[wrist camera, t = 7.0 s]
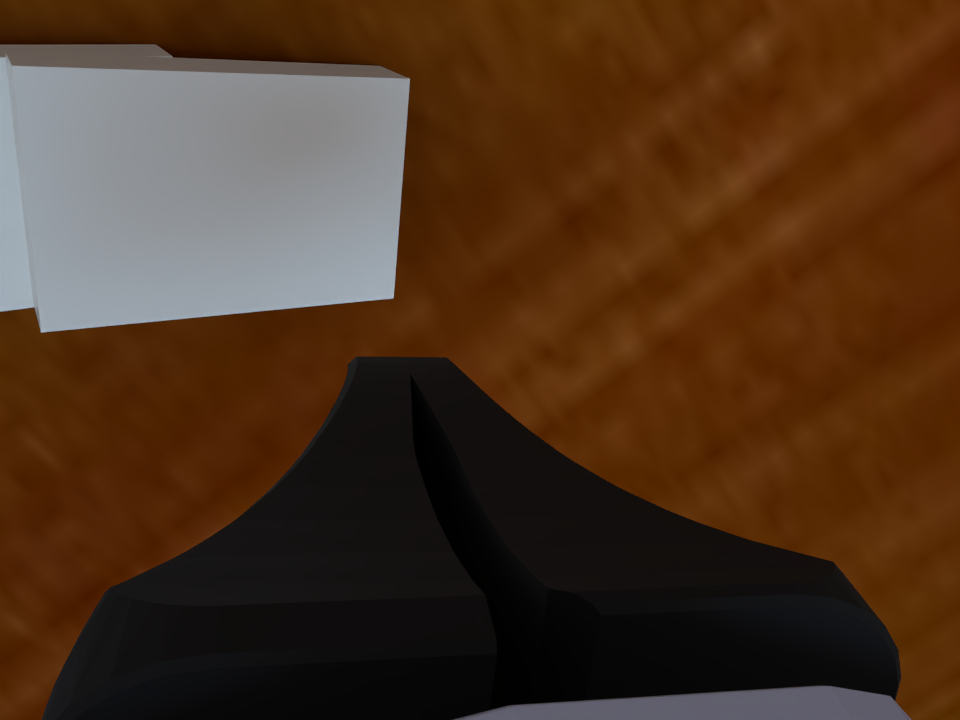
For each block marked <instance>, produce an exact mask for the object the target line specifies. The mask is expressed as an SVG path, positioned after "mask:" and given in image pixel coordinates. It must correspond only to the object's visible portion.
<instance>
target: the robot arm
mask: <svg viewBox="0 0 960 720" xmlns="http://www.w3.org/2000/svg"><path fill="white" fill-rule="evenodd" d="M900 680H901V672H900V662H899V652H898V649H897V647H896V645H895V643H894V641H893V640H892V638H891V636H890V634H889V632H888V630H887V629H886V627H885V625H884V624H883V623H882V622H881V620H880V619H879V618H878V617H877V615H876V614H875V613H874V612H873V610H872V609H871V608H870V607H869V605H868V604H867V603H866V602H865V600H864V599H863V598H862V597H861V595H860V594H859V593H858V592H857V590H856V589H855V588H854V587H853V585H852V584H851V583H850V582H849V580H848V579H847V578H846V577H845V575H844V574H843V573H842V572H841V570H840V569H839V568H838V567H837V566H836V565H835V564H834V562H832V561H828V560H824V559H820V558H816V557H812V556H809V555H805V554H801V553H797V552H793V551H789V550H785V549H782V548H778V547H774V546H770V545H766V544H762V543H758V542H755V541H751V540H748V539H745V538H741V537H738V536H736V535H733V534H730V533H727V532H724V531H721V530H718V529H715V528H712V527H709V526H707V525H704V524H701V523H698V522H695V521H693V520H690V519H688V518H685V517H683V516H680V515H678V514H675V513H673V512H670V511H668V510H666V509H663V508H661V507H659V506H657V505H655V504H652V503H650V502H648V501H646V500H644V499H642V498H639V497H637V496H635V495H633V494H631V493H629V492H627V491H625V490H623V489H621V488H619V487H617V486H615V485H613V484H611V483H609V482H607V481H606V480H604V479H602V478H601V477H599V476H597V475H596V474H594V473H592V472H590V471H589V470H587V469H585V468H584V467H582V466H580V465H579V464H577V463H575V462H574V461H572V460H570V459H569V458H567V457H566V456H564V455H563V454H561V453H560V452H558V451H557V450H555V449H554V448H553V447H551V446H550V445H549V444H547V443H546V442H545V441H543V440H542V439H540V438H539V437H538V436H536V435H535V434H534V433H532V432H531V431H530V430H528V429H527V428H526V427H525V426H523V425H522V424H521V423H519V422H518V421H517V420H516V419H515V418H513V417H512V416H511V415H510V414H509V413H507V412H506V411H505V410H504V409H503V408H502V407H500V406H499V405H498V404H497V403H496V402H495V401H494V400H492V399H491V398H490V397H489V396H488V395H487V394H486V393H485V392H484V391H482V390H481V389H480V388H479V387H478V386H477V385H476V384H475V383H474V382H473V381H472V380H471V379H470V378H468V377H467V376H466V375H465V374H464V373H463V372H462V371H461V370H460V369H459V368H458V367H457V366H456V365H455V364H453V363H452V362H451V361H450V360H449V359H448V358H436V357H356V358H355V359H354V360H352V361H351V362H350V363H349V364H348V373H347V377H346V380H345V383H344V386H343V388H342V390H341V392H340V394H339V397H338V399H337V401H336V402H335V404H334V406H333V408H332V409H331V411H330V413H329V415H328V417H327V418H326V420H325V422H324V423H323V425H322V427H321V428H320V430H319V431H318V432H317V434H316V435H315V437H314V438H313V439H312V441H311V442H310V444H309V445H308V446H307V448H306V449H305V451H304V452H303V453H302V455H301V456H300V457H299V458H298V460H297V461H296V462H295V463H294V464H293V466H292V467H291V468H290V469H289V470H288V471H287V472H286V474H285V475H284V476H283V477H282V478H281V479H280V480H279V481H278V482H277V483H276V484H275V485H274V486H273V487H272V488H271V489H270V490H269V491H268V492H267V493H266V494H265V495H264V496H263V497H261V498H260V499H259V500H258V501H257V502H256V503H255V504H254V505H253V506H251V507H250V508H249V509H248V510H247V511H246V512H245V513H244V514H242V515H241V516H240V517H239V518H237V519H236V520H235V521H233V522H232V523H230V524H229V525H228V526H226V527H225V528H223V529H222V530H220V531H219V532H217V533H216V534H214V535H213V536H211V537H209V538H208V539H206V540H204V541H203V542H201V543H200V544H198V545H196V546H195V547H193V548H191V549H190V550H188V551H186V552H184V553H182V554H181V555H179V556H177V557H175V558H173V559H171V560H169V561H167V562H165V563H163V564H161V565H159V566H156V567H154V568H152V569H150V570H148V571H146V572H144V573H142V574H140V575H138V576H135V577H133V578H131V579H129V580H127V581H125V582H123V583H120V584H118V585H115V586H113V587H111V588H109V589H108V590H107V591H106V592H105V594H104V595H103V597H102V598H101V600H100V601H99V603H98V605H97V606H96V608H95V610H94V611H93V613H92V615H91V616H90V618H89V620H88V622H87V623H86V625H85V627H84V628H83V630H82V632H81V634H80V636H79V638H78V639H77V641H76V643H75V645H74V647H73V649H72V651H71V653H70V655H69V657H68V658H67V660H66V662H65V664H64V666H63V668H62V670H61V673H60V675H59V677H58V679H57V681H56V683H55V685H54V688H53V690H52V693H51V696H50V698H49V701H48V703H47V706H46V709H45V712H44V715H43V718H42V720H911V719H910V717H909V716H908V715H907V714H906V713H905V712H904V711H903V710H902V709H901V707H900V706H899V705H898V704H897V703H896V702H895V700H896V696H897V692H898V688H899V684H900Z"/></svg>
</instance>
